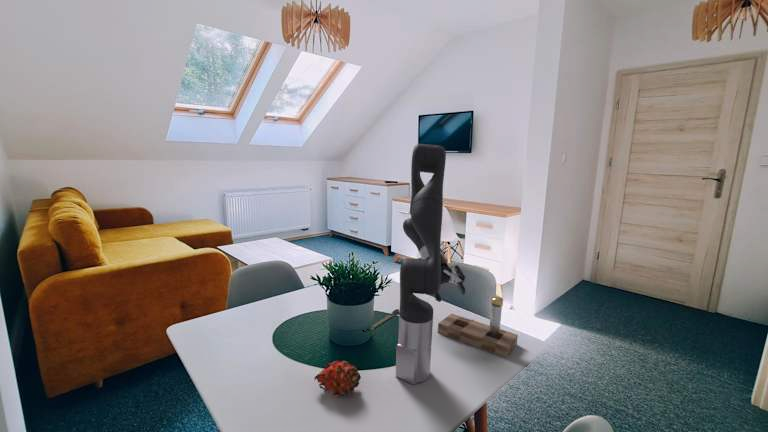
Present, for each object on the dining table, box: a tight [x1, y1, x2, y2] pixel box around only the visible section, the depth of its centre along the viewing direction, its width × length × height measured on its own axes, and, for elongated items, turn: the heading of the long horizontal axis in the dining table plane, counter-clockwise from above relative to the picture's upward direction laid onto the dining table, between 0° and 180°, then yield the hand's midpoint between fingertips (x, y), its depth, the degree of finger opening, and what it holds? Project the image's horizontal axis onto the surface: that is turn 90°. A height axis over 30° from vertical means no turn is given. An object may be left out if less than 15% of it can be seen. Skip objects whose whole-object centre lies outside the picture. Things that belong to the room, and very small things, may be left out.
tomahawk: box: [370, 308, 400, 335], centre depth 128 cm, size 21×7×1 cm, turn 142°
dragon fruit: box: [314, 360, 362, 397], centre depth 90 cm, size 8×8×12 cm
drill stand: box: [437, 313, 519, 359], centre depth 119 cm, size 10×24×4 cm, turn 53°
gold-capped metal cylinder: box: [489, 295, 504, 340], centre depth 114 cm, size 4×4×16 cm
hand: (452, 297), depth 117 cm, fingers open, 8 cm apart
